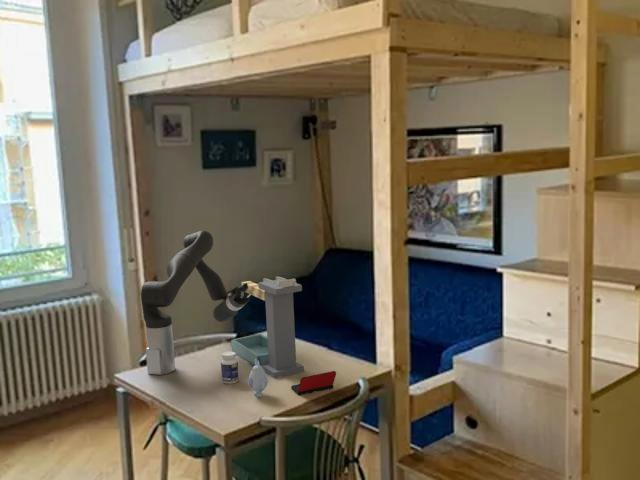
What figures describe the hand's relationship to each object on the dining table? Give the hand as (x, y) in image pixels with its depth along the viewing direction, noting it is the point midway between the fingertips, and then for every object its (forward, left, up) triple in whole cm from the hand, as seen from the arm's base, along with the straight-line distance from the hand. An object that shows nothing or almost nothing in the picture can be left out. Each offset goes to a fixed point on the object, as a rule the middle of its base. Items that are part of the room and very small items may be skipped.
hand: (251, 284), depth 245 cm
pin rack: (-14, -20, -28) cm, 37 cm away
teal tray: (-3, -4, -28) cm, 28 cm away
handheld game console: (-26, -38, -28) cm, 54 cm away
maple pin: (-3, -4, -3) cm, 6 cm away
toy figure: (-36, -23, -28) cm, 51 cm away
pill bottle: (-28, -7, -28) cm, 40 cm away
